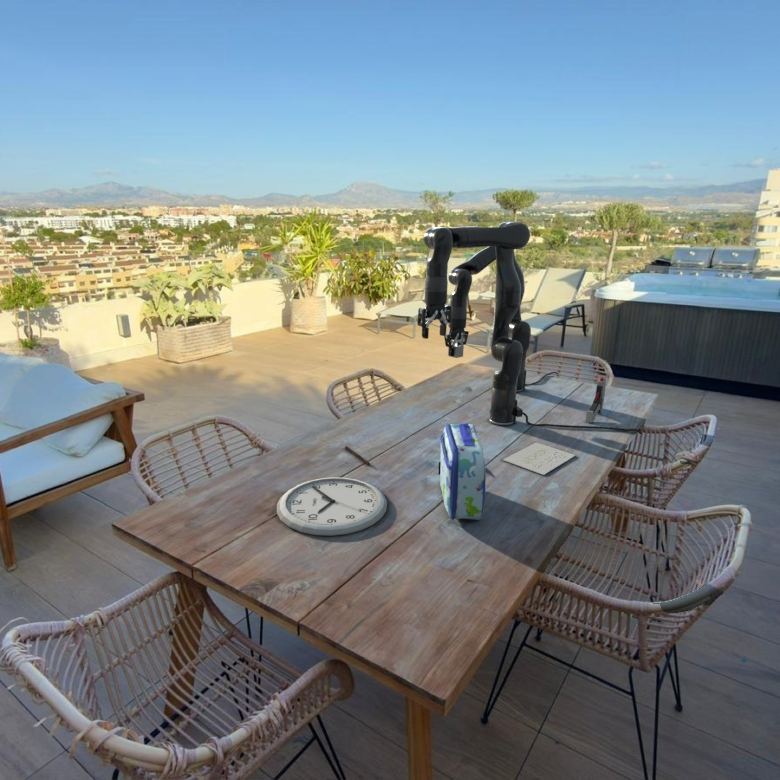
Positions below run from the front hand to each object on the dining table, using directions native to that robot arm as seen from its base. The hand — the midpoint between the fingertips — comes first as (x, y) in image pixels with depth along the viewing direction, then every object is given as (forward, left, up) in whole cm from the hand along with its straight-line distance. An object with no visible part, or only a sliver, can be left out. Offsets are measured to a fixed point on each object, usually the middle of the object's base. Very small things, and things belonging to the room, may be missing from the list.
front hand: (434, 336), depth 180 cm
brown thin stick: (+30, +12, -37) cm, 49 cm away
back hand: (-24, -40, -17) cm, 50 cm away
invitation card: (-30, +26, -37) cm, 54 cm away
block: (-24, -40, -18) cm, 50 cm away
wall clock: (+42, +42, -37) cm, 70 cm away
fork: (-7, +26, -37) cm, 46 cm away
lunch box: (+7, +48, -37) cm, 61 cm away
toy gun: (-72, -4, -37) cm, 81 cm away
